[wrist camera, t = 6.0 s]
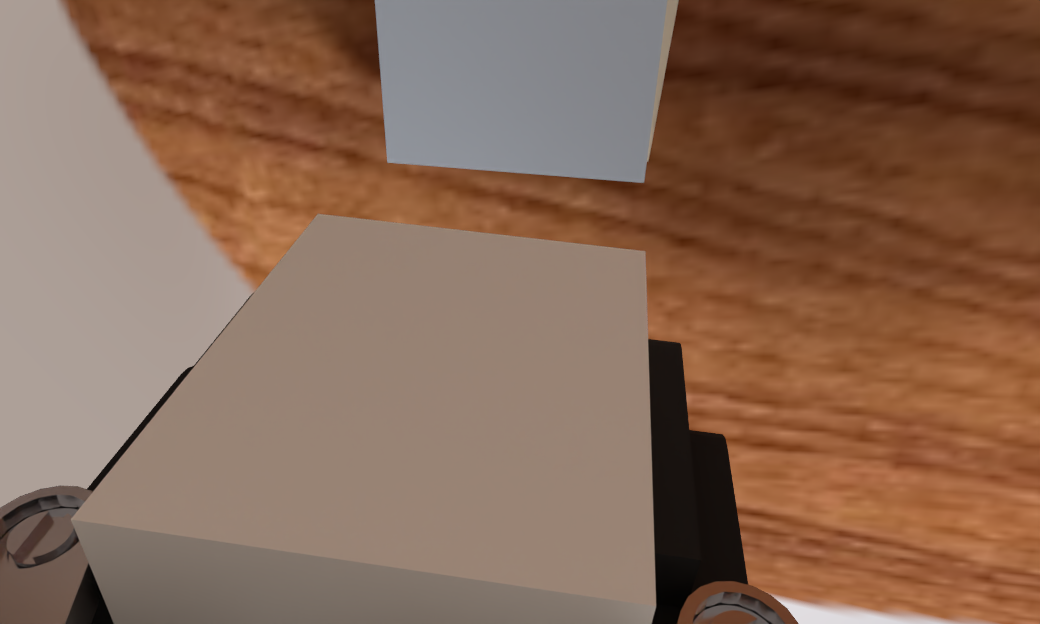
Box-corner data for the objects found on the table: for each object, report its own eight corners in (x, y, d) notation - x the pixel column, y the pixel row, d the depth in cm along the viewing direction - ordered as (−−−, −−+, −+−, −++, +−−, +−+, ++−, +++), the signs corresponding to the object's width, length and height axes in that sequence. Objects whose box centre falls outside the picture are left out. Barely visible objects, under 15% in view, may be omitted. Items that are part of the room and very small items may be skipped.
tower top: (676, -132, 21) (682, -124, 18) (643, 136, 26) (644, 182, 22) (406, -141, 22) (364, -136, 19) (419, 120, 26) (387, 162, 23)
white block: (645, 251, 11) (656, 606, 6) (603, 486, 14) (587, 862, 9) (318, 214, 11) (70, 519, 6) (341, 450, 14) (182, 791, 9)
